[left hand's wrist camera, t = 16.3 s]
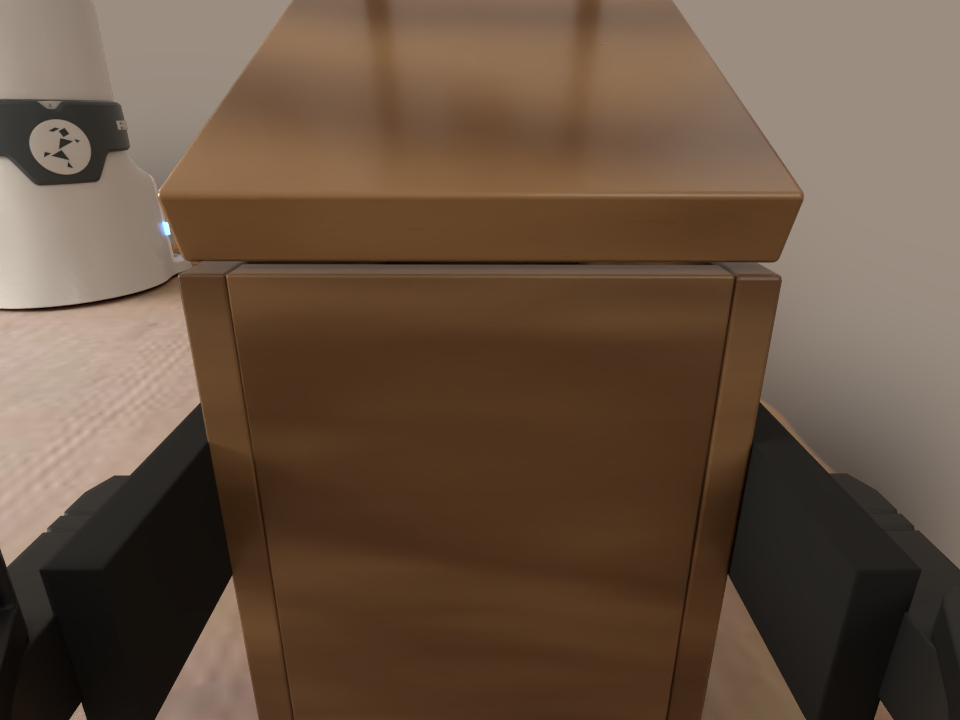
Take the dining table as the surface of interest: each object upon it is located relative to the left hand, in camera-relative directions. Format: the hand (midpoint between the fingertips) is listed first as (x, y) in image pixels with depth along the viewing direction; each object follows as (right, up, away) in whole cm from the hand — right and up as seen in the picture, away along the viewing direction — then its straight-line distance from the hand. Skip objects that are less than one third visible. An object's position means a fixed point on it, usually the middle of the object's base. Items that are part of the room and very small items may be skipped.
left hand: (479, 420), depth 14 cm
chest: (0, -5, +7) cm, 8 cm away
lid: (0, +9, +1) cm, 9 cm away
